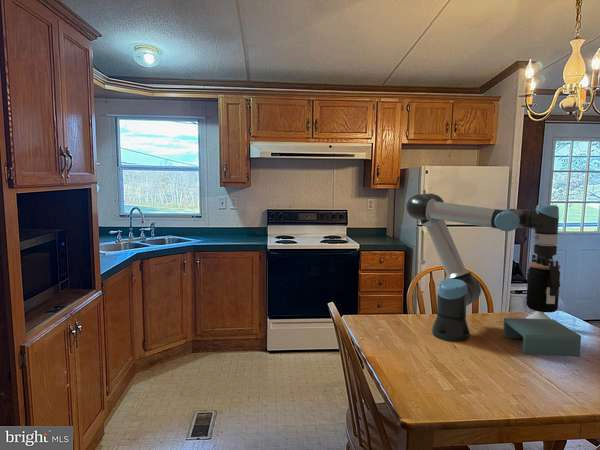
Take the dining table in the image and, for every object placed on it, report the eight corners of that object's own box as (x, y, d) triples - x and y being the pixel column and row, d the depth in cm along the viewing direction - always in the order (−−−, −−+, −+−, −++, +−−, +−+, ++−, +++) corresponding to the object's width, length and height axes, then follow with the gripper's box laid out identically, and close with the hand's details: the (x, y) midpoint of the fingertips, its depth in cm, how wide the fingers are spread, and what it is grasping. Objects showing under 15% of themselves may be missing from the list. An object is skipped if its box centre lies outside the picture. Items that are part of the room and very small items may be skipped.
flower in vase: (549, 331, 167) (553, 276, 165) (521, 324, 176) (524, 271, 173) (558, 324, 176) (562, 271, 173) (531, 318, 185) (534, 267, 182)
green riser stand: (524, 354, 145) (525, 334, 144) (503, 336, 163) (504, 318, 162) (579, 356, 143) (581, 335, 143) (551, 337, 161) (553, 319, 160)
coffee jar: (547, 314, 144) (550, 268, 143) (520, 307, 154) (522, 263, 152) (563, 310, 149) (566, 265, 147) (536, 303, 159) (538, 260, 157)
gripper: (520, 240, 161) (518, 291, 163) (552, 249, 138) (548, 308, 140) (539, 240, 160) (536, 291, 162) (574, 249, 137) (570, 308, 139)
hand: (542, 299), depth 151 cm, fingers closed on coffee jar, 11 cm apart
